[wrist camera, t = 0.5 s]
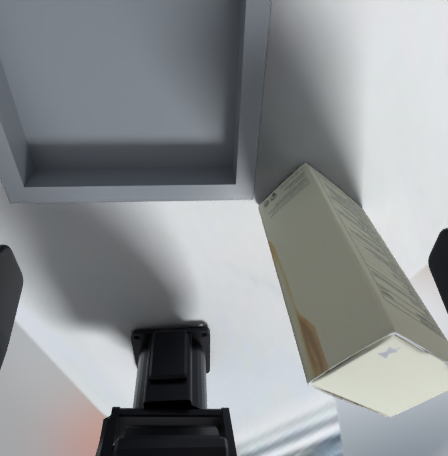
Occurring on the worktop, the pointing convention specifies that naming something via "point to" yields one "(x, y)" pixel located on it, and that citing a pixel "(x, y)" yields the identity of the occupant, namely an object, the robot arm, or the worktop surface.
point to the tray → (131, 99)
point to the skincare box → (350, 300)
